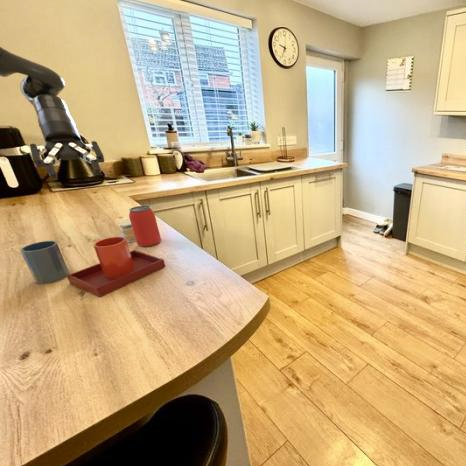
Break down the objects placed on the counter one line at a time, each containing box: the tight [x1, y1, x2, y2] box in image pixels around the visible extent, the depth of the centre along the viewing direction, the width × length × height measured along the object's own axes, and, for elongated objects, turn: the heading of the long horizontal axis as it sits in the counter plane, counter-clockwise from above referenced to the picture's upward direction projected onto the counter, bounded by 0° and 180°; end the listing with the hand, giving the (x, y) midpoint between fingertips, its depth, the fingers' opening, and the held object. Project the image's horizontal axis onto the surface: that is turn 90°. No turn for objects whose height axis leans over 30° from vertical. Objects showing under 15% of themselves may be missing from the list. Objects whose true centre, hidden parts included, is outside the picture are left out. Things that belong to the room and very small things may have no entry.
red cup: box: [93, 236, 135, 279], centre depth 74 cm, size 6×6×9 cm
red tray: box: [66, 249, 166, 298], centre depth 76 cm, size 16×13×2 cm
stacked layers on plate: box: [116, 218, 137, 244], centre depth 98 cm, size 10×9×6 cm
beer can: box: [128, 205, 162, 247], centre depth 92 cm, size 7×7×12 cm
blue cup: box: [20, 240, 71, 285], centre depth 73 cm, size 6×6×9 cm
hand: (76, 175), depth 79 cm, fingers open, 8 cm apart
